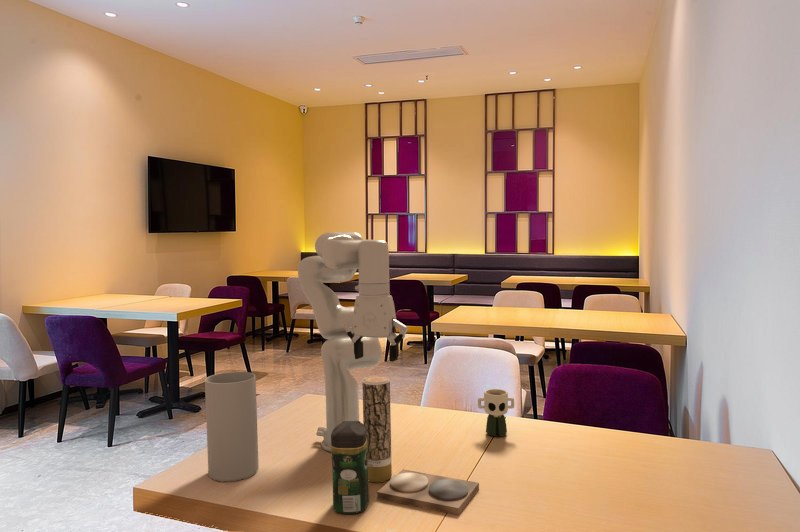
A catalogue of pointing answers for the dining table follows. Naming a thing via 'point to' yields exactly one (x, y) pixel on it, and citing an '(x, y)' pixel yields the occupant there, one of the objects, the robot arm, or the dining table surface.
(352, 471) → the coffee jar
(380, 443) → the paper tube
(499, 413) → the character mug
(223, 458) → the cylinder vase
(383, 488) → the board
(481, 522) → the dining table surface
